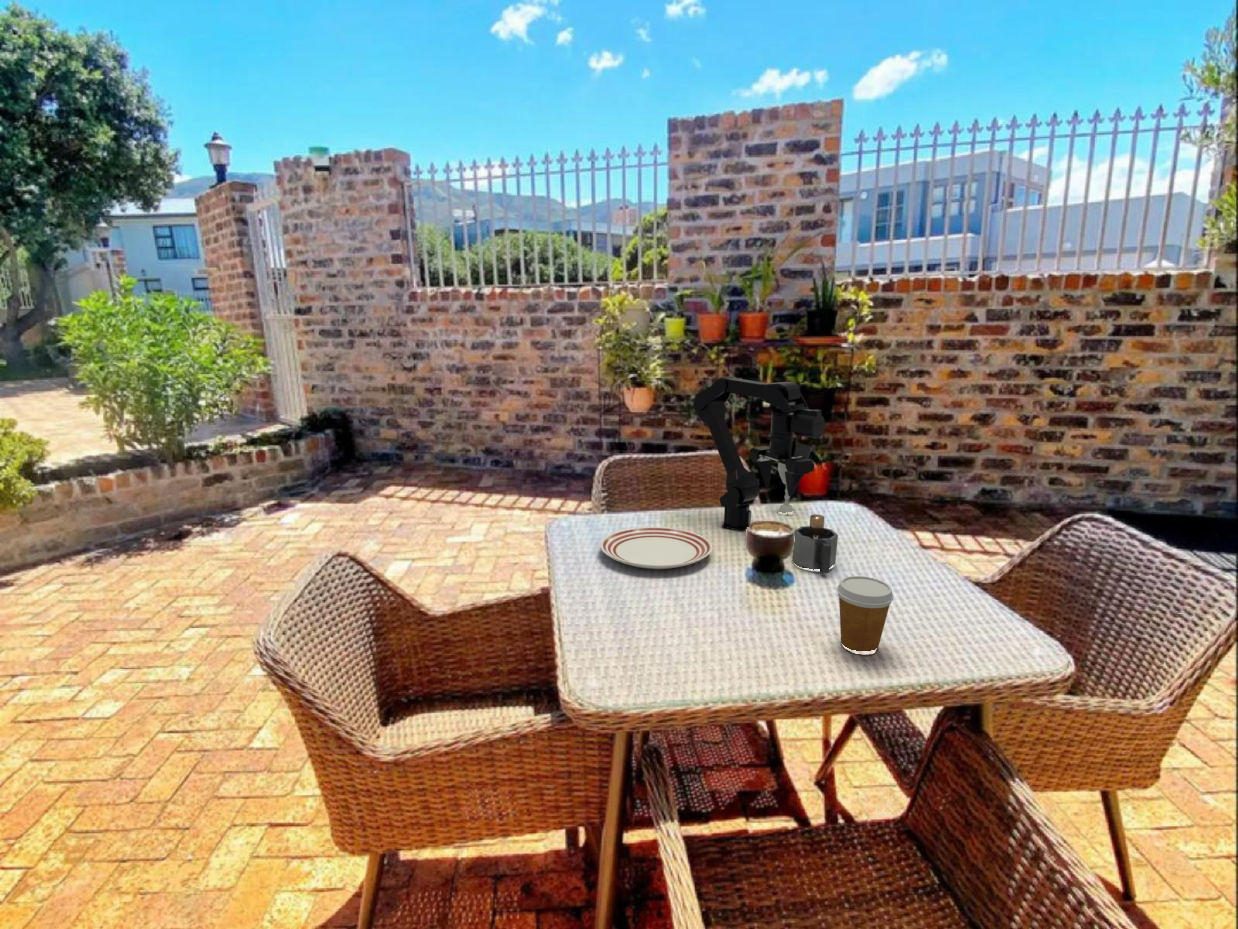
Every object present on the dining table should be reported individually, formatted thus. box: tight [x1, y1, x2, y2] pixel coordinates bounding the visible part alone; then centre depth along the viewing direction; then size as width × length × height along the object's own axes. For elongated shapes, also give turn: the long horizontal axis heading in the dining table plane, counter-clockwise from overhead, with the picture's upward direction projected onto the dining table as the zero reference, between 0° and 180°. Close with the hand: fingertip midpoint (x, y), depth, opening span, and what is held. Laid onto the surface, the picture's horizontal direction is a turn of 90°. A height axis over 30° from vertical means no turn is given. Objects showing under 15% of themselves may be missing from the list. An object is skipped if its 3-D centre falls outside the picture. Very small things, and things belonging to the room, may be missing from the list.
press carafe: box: [791, 525, 839, 574], centre depth 151 cm, size 12×9×8 cm
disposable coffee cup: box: [836, 575, 895, 651], centre depth 116 cm, size 10×10×12 cm
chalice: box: [777, 456, 802, 513], centre depth 189 cm, size 7×7×18 cm
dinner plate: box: [599, 526, 713, 570], centre depth 159 cm, size 27×27×3 cm
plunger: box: [808, 513, 826, 539], centre depth 152 cm, size 7×7×11 cm
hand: (778, 491), depth 167 cm, fingers open, 9 cm apart
